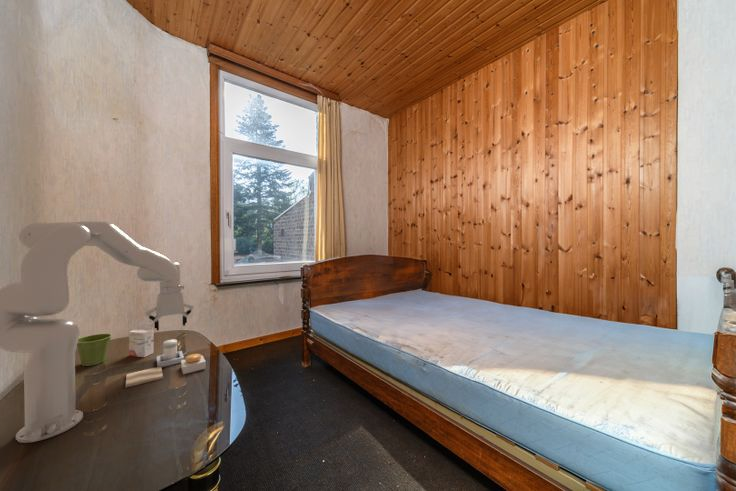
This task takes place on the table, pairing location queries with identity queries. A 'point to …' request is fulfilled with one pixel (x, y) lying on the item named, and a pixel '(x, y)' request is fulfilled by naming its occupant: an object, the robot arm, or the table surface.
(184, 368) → the white square base
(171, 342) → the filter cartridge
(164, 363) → the filter socket
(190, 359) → the orange mushroom button
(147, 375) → the wooden pad
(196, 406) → the table surface
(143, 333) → the ink cartridge box
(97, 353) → the plant pot
